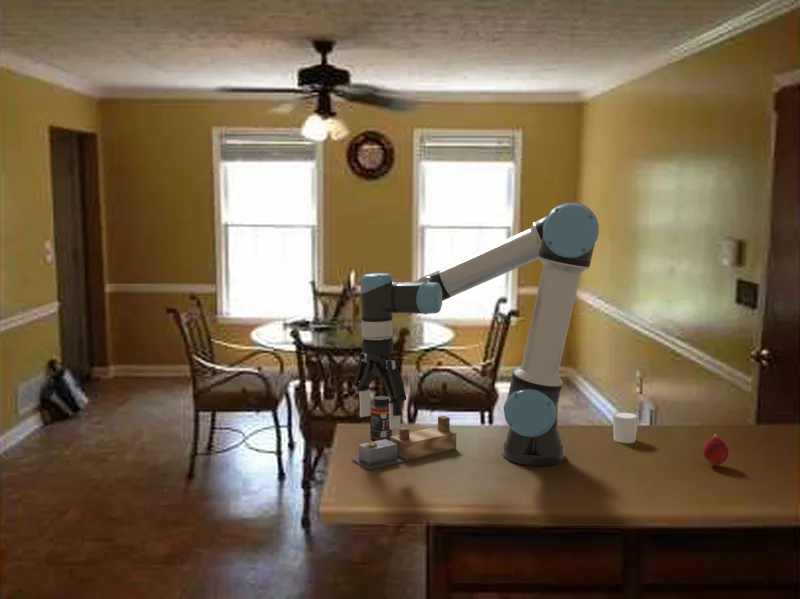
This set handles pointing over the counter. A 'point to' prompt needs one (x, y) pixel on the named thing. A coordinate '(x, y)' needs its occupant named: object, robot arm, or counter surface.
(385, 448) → the lever cap
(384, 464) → the mat
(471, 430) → the counter surface
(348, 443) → the counter surface
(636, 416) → the white cup
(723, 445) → the onion
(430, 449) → the body
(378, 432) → the supplement bottle
